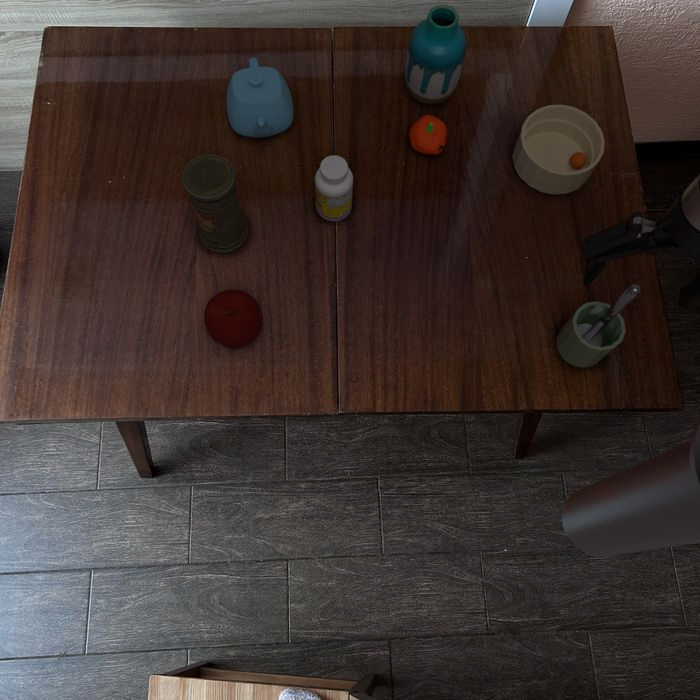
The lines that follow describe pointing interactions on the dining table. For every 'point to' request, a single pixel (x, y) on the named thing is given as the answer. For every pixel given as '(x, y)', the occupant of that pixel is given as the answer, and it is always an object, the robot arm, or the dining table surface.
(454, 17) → the vase
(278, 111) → the teapot
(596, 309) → the cup
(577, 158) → the ball
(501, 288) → the dining table surface
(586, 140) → the bowl
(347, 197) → the supplement bottle
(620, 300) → the ladle
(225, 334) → the apple
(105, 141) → the dining table surface
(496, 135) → the dining table surface
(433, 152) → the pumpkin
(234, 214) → the container
